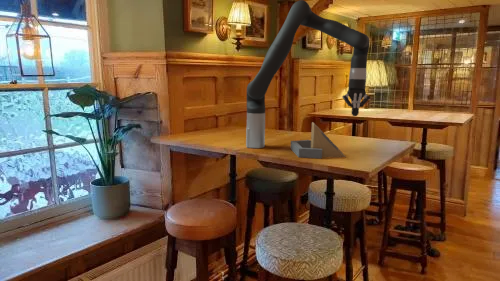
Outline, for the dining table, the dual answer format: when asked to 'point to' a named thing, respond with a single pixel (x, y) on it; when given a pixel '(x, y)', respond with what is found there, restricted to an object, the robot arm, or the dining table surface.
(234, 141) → the dining table surface
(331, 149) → the sandwich container
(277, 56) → the robot arm
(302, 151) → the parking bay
